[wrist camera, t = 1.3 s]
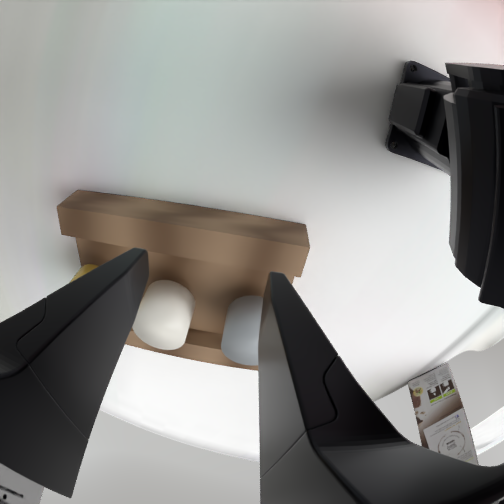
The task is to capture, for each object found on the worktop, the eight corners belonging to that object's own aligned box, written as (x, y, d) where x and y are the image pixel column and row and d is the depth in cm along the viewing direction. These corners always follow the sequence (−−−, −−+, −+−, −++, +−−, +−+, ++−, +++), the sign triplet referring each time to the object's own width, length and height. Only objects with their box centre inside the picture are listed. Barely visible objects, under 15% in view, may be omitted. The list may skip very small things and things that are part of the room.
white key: (196, 285, 21) (185, 319, 18) (194, 321, 24) (185, 354, 21) (144, 275, 21) (128, 306, 18) (148, 312, 23) (135, 342, 21)
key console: (305, 224, 21) (309, 247, 18) (267, 349, 29) (266, 373, 26) (77, 190, 20) (56, 206, 18) (100, 315, 28) (89, 335, 26)
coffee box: (405, 382, 32) (427, 492, 19) (448, 360, 30) (481, 469, 16) (417, 402, 36) (435, 493, 23) (454, 385, 33) (479, 475, 20)
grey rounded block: (284, 300, 22) (285, 335, 19) (273, 334, 24) (272, 368, 21) (230, 291, 21) (223, 326, 19) (224, 327, 24) (218, 360, 21)
